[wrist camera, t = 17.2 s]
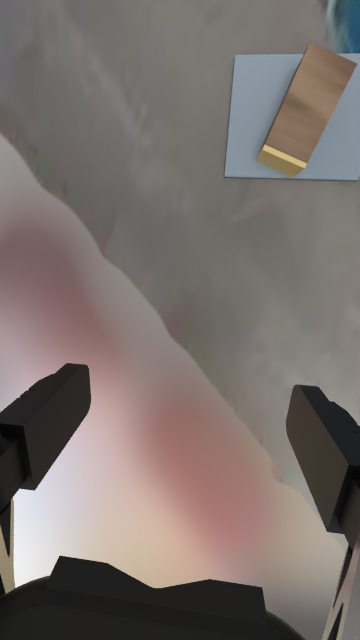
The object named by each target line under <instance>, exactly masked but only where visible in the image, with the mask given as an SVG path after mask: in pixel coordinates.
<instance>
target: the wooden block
mask: <svg viewBox="0 0 360 640" xmlns="http://www.w3.org/2000/svg"><path fill="white" fill-rule="evenodd" d="M356 66H357V63H355V62H353V61H351V60H349V59H347V58H344V57H342V56H340V55H338V54H336V53H334V52H331V51H329V50H327V49H325V48H323V47H321V46H318V45H316V44H314V43H312V42H310V43H309V45H308V47H307V49H306V51H305V53H304V55H303V57H302V59H301V61H300V63H299V64H298V66H297V68H296V70H295V73H294V75H293V77H292V79H291V82H290V84H289V86H288V89H287V91H286V93H285V95H284V98H283V100H282V102H281V104H280V107H279V109H278V111H277V113H276V116H275V118H274V120H273V122H272V125H271V127H270V129H269V132H268V134H267V136H266V138H265V141H264V143H263V145H262V147H261V150H260V152H259V154H258V156H257V159H256V161H257V162H260V163H262V164H264V165H266V166H268V167H271V168H273V169H275V170H277V171H280V172H282V173H284V174H286V175H289V176H291V177H294V176H295V175H297V174H298V173H299V172H301V171H302V170H303V169H305V167H306V165H307V163H308V161H309V159H310V157H311V155H312V153H313V151H314V149H315V147H316V145H317V143H318V141H319V139H320V137H321V135H322V133H323V131H324V129H325V127H326V125H327V123H328V121H329V119H330V117H331V115H332V114H333V112H334V110H335V108H336V106H337V104H338V102H339V100H340V98H341V96H342V94H343V92H344V90H345V88H346V86H347V84H348V82H349V80H350V78H351V76H352V74H353V72H354V70H355V68H356Z"/></svg>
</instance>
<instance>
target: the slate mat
mask: <svg viewBox="0 0 360 640" xmlns="http://www.w3.org/2000/svg"><path fill="white" fill-rule="evenodd" d="M303 55H304V54H268V55H235V61H234V72H233V83H232V95H231V106H230V118H229V129H228V140H227V152H226V163H225V174H224V178H259V179H295V180H331V181H358V180H359V176H360V53H355V54H338V55H340V56H342V57H344V58H347V59H349V60H351V61H353V62H355V63H357V66H356V68H355V70H354V72H353V74H352V76H351V78H350V80H349V82H348V84H347V86H346V88H345V90H344V92H343V94H342V96H341V98H340V100H339V102H338V104H337V106H336V108H335V110H334V112H333V114H332V115H331V117H330V119H329V121H328V123H327V125H326V127H325V129H324V131H323V133H322V135H321V137H320V139H319V141H318V143H317V145H316V147H315V149H314V151H313V153H312V155H311V157H310V159H309V161H308V163H307V165H306V167H305V169H303V170H302V171H301V172H299V173H298V174H297V175H295V176H294V177H291V176H289V175H286V174H284V173H282V172H280V171H277V170H275V169H273V168H271V167H268V166H266V165H264V164H262V163H260V162H257V161H256V159H257V156H258V154H259V152H260V150H261V147H262V145H263V143H264V141H265V138H266V136H267V134H268V132H269V129H270V127H271V125H272V122H273V120H274V118H275V116H276V113H277V111H278V109H279V107H280V104H281V102H282V100H283V98H284V95H285V93H286V91H287V89H288V86H289V84H290V82H291V79H292V77H293V75H294V73H295V70H296V68H297V66H298V64H299V63H300V61H301V59H302V57H303Z"/></svg>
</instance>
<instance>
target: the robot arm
mask: <svg viewBox="0 0 360 640" xmlns="http://www.w3.org/2000/svg"><path fill="white" fill-rule="evenodd" d="M90 404H91V393H90V378H89V368H88V366H87V365H83V364H72V363H67V364H65V365H64V366H63V367H62V368H60V370H58V371H57V372H56V373H55V374H51V375H49V376H47V377H45V378H43V379H41V380H39V381H38V382H36V383H35V384H34V385H33V386H31V387H30V388H29V390H28V391H25V392H24V393H23V394H22V395H21V396H20V398H17V399H16V400H15V401H14V402H13V403H11V404H10V405H9V406H7V407H6V408H5V409H4V410H3V411H1V412H0V640H305V639H304V638H303V637H302V636H301V635H300V634H299V633H298V632H297V631H295V630H294V629H293V628H292V627H291V626H290V625H289V624H287V623H286V622H284V621H283V620H282V619H280V618H279V617H277V616H276V615H274V614H272V613H271V612H269V611H267V610H266V609H265V603H264V596H263V590H262V587H256V586H250V585H243V584H237V583H231V582H224V581H218V580H211V579H208V580H203V581H197V582H192V583H187V584H182V585H176V586H170V587H165V588H152V587H150V586H148V585H146V584H144V583H142V582H141V581H139V580H137V579H135V578H133V577H131V576H129V575H128V574H126V573H124V572H122V571H120V570H119V569H117V568H115V567H113V566H111V565H109V564H108V563H103V562H97V561H90V560H84V559H78V558H71V557H65V556H59V558H58V560H57V562H56V564H55V566H54V569H53V571H52V573H51V575H50V576H46V577H43V578H39V579H36V580H33V581H30V582H28V583H26V584H23V585H21V586H19V587H17V588H15V582H14V569H13V546H14V543H13V540H14V538H13V537H14V502H13V496H14V495H15V494H16V492H17V491H18V490H19V488H20V489H27V490H35V489H36V488H37V486H38V485H39V484H40V482H41V481H42V479H43V478H44V476H45V475H46V473H47V472H48V470H49V469H50V467H51V466H52V464H53V463H54V462H55V460H56V459H57V457H58V456H59V454H60V453H61V451H62V450H63V449H64V447H65V446H66V444H67V443H68V441H69V440H70V438H71V437H72V435H73V434H74V433H75V431H76V430H77V428H78V427H79V425H80V424H81V422H82V421H83V419H84V418H85V416H86V415H87V413H88V411H89V408H90ZM286 430H287V435H288V438H289V441H290V443H291V446H292V448H293V450H294V453H295V455H296V458H297V460H298V463H299V465H300V467H301V470H302V472H303V475H304V477H305V479H306V482H307V484H308V487H309V489H310V492H311V494H312V496H313V499H314V501H315V504H316V506H317V509H318V511H319V513H320V516H321V518H322V521H323V523H324V525H325V528H326V530H327V532H332V533H340V534H344V535H345V537H346V539H347V541H348V543H349V544H348V546H347V549H346V552H345V556H344V560H343V564H342V567H341V571H340V575H339V579H338V583H337V587H336V590H335V594H334V598H333V602H332V606H331V610H330V614H329V617H328V621H327V624H326V628H325V631H324V634H323V637H322V640H360V426H359V425H357V423H356V421H355V420H354V419H353V418H352V417H351V415H350V414H349V413H348V412H347V411H346V410H345V409H343V408H342V407H340V406H339V405H338V404H336V403H335V402H331V401H329V400H328V399H327V397H326V396H325V395H324V393H323V392H322V391H321V389H320V388H319V387H317V386H307V385H295V386H294V387H293V391H292V395H291V400H290V405H289V410H288V414H287V419H286Z"/></svg>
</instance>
